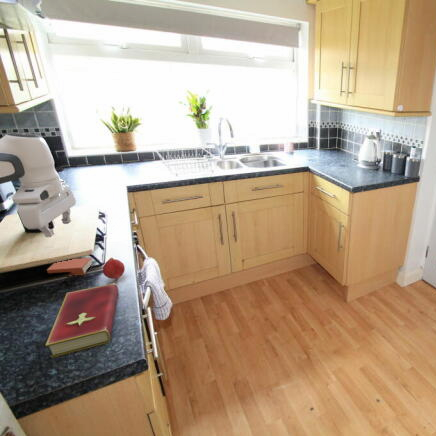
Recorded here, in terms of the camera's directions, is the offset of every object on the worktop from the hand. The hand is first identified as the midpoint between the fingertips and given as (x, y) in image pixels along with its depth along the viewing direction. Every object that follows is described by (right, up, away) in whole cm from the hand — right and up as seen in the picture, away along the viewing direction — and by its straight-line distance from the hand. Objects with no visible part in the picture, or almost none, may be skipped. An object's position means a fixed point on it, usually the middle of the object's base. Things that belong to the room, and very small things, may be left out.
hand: (59, 229), depth 101 cm
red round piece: (+17, -16, +3) cm, 23 cm away
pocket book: (0, -14, +6) cm, 15 cm away
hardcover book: (+21, -24, -15) cm, 36 cm away
